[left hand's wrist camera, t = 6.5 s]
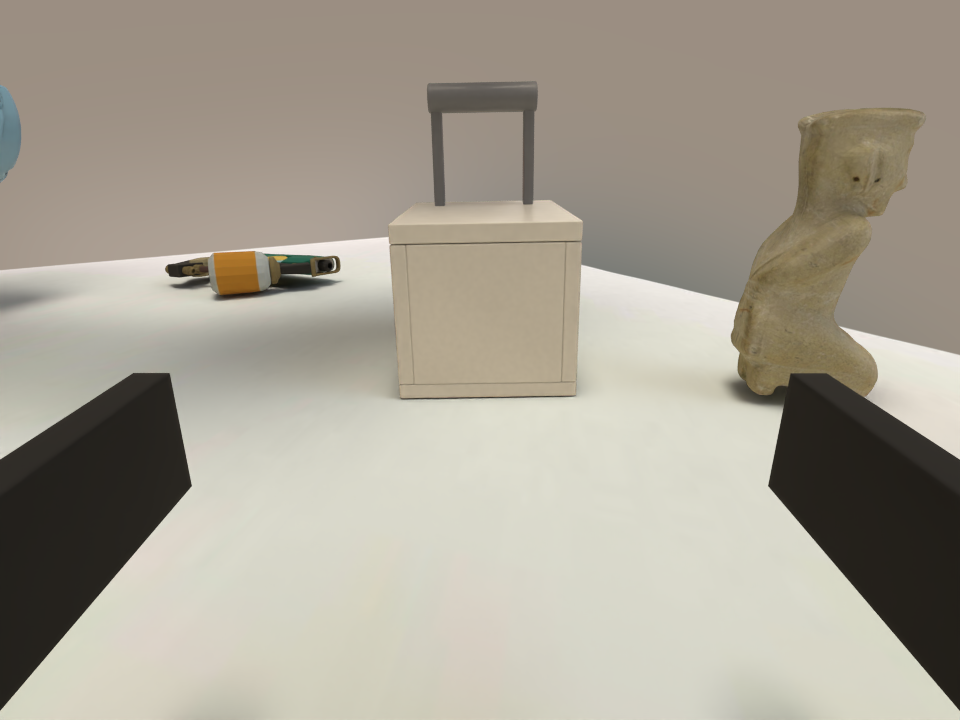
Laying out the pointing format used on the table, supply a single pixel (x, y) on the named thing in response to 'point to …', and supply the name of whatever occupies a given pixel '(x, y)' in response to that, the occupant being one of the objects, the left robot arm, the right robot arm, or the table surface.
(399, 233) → the lid
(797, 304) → the sculpture
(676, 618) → the table surface
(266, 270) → the spray gun
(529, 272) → the chest
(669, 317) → the table surface
